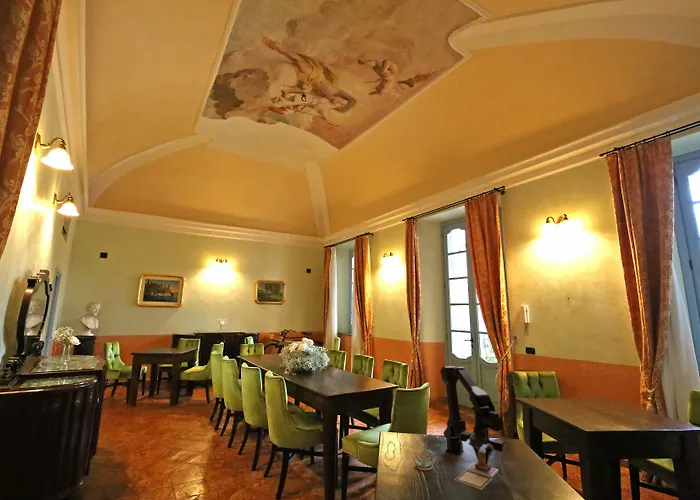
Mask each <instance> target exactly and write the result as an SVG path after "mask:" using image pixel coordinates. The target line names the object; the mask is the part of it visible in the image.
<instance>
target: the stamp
mask: <svg viewBox="0 0 700 500" xmlns="http://www.w3.org/2000/svg"><path fill="white" fill-rule="evenodd" d="M475 462H476V463H475ZM475 462H474V463H475V468H478V469H481V470H484V471H488V470H489V469H490V468H491V467H492V464H491V463H489V462H488V463H487V464H486V450H485V449H481V448H480V450H479V451H478V459H477V461H475Z"/></svg>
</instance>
